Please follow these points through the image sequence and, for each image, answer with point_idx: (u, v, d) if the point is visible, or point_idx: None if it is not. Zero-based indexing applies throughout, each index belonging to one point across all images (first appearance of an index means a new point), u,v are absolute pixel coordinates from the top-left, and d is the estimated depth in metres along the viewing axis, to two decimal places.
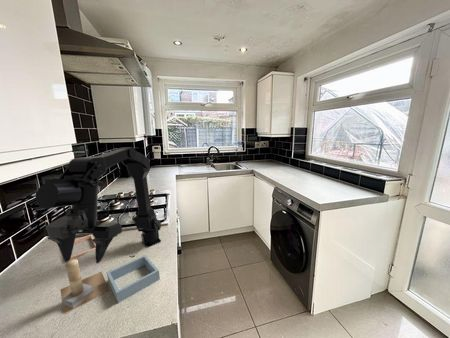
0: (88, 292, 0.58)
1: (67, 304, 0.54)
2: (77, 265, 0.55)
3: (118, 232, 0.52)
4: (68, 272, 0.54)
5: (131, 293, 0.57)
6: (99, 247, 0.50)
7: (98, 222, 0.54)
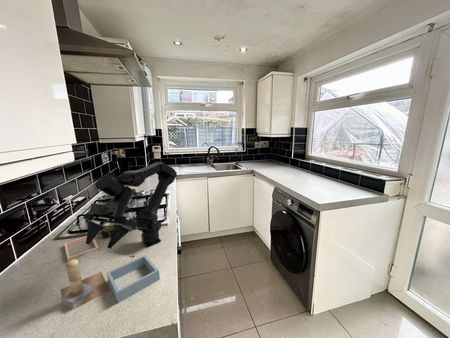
0: (88, 292, 0.58)
1: (67, 304, 0.54)
2: (77, 265, 0.55)
3: (133, 227, 0.64)
4: (68, 272, 0.54)
5: (131, 293, 0.57)
6: (115, 233, 0.62)
7: None
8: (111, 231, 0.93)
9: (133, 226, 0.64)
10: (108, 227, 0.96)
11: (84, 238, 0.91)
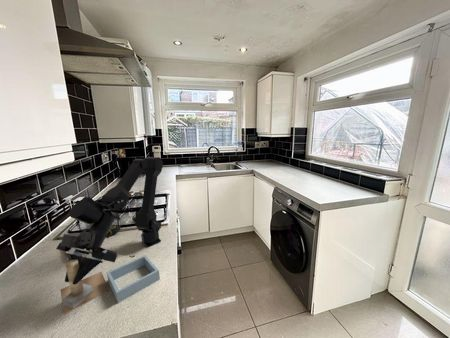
0: (88, 292, 0.58)
1: (67, 304, 0.54)
2: (77, 265, 0.55)
3: (111, 260, 0.57)
4: (68, 272, 0.54)
5: (131, 293, 0.57)
6: (82, 267, 0.55)
7: None
8: (112, 230, 0.94)
9: (112, 259, 0.57)
10: None
11: None
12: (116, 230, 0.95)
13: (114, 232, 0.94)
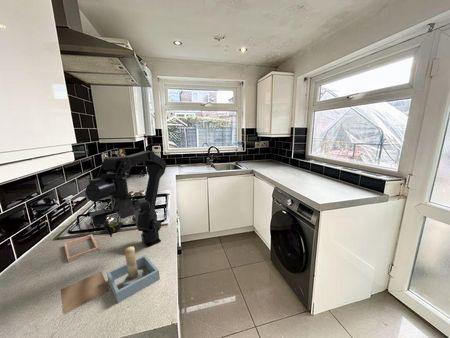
0: (141, 275, 0.65)
1: None
2: (134, 251, 0.62)
3: None
4: (129, 257, 0.60)
5: (131, 293, 0.57)
6: (141, 216, 0.74)
7: None
8: (115, 227, 0.97)
9: None
10: (112, 223, 1.01)
11: (84, 238, 0.91)
12: (119, 227, 0.99)
13: (117, 229, 0.98)
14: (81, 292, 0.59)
